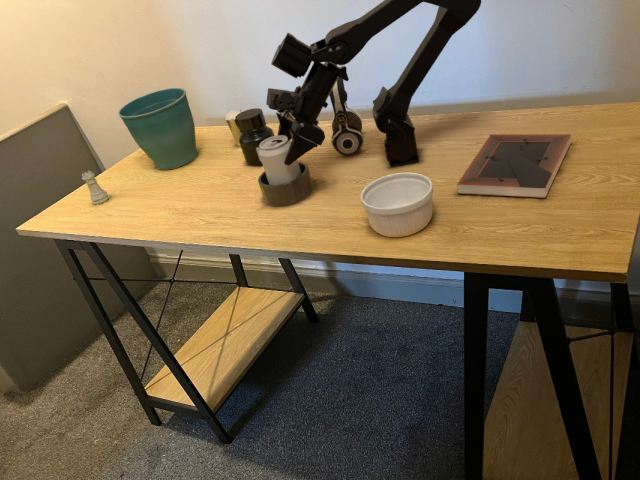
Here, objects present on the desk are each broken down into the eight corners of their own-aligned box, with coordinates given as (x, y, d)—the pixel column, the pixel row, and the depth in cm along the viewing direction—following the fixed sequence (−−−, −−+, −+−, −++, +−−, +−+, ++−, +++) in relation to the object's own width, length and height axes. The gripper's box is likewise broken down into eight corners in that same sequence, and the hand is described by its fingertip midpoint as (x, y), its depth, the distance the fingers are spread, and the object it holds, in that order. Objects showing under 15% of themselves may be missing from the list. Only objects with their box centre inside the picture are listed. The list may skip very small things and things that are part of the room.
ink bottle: (270, 167, 142) (255, 121, 135) (240, 168, 146) (223, 123, 139) (286, 149, 149) (272, 104, 142) (257, 151, 152) (242, 107, 145)
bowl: (316, 177, 132) (310, 157, 129) (310, 201, 123) (304, 180, 120) (269, 186, 134) (262, 166, 131) (261, 210, 125) (253, 190, 122)
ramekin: (452, 218, 105) (447, 184, 101) (394, 250, 101) (387, 217, 97) (409, 196, 115) (403, 165, 111) (354, 225, 111) (346, 194, 107)
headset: (335, 136, 149) (315, 57, 137) (364, 129, 148) (347, 49, 136) (335, 164, 135) (313, 79, 123) (367, 157, 134) (348, 71, 122)
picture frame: (545, 199, 103) (570, 144, 117) (545, 187, 102) (571, 133, 116) (457, 194, 111) (491, 144, 125) (456, 183, 110) (490, 133, 124)
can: (312, 183, 128) (297, 133, 121) (292, 201, 124) (276, 149, 116) (286, 181, 132) (270, 132, 125) (266, 198, 127) (248, 148, 120)
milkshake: (250, 146, 156) (238, 110, 151) (232, 148, 158) (219, 113, 152) (255, 138, 160) (243, 104, 154) (238, 141, 161) (225, 106, 156)
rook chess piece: (94, 207, 147) (78, 179, 142) (92, 201, 150) (76, 173, 146) (111, 200, 148) (96, 172, 143) (108, 194, 151) (94, 167, 147)
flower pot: (187, 175, 150) (160, 112, 140) (133, 178, 157) (103, 118, 147) (220, 144, 163) (197, 84, 153) (168, 148, 170) (144, 91, 160)
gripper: (271, 61, 122) (239, 128, 127) (292, 81, 107) (255, 156, 112) (316, 86, 127) (284, 149, 132) (342, 108, 112) (304, 178, 117)
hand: (281, 157), depth 123 cm, fingers open, 9 cm apart
